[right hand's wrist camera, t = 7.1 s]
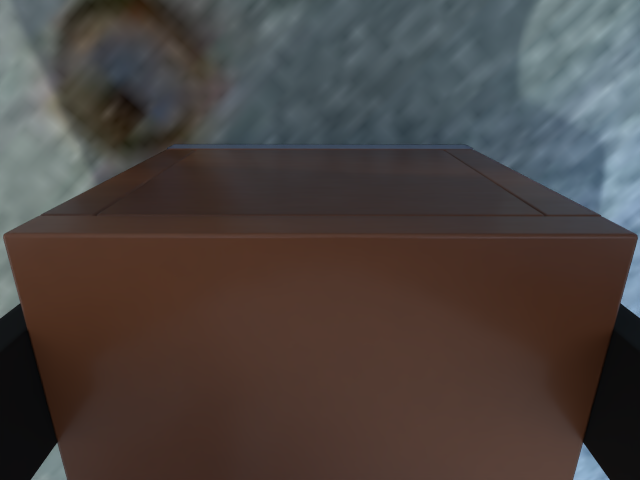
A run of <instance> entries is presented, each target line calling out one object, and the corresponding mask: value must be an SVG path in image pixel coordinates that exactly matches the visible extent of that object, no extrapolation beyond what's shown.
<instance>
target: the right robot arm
mask: <svg viewBox="0 0 640 480" xmlns="http://www.w3.org/2000/svg"><path fill="white" fill-rule="evenodd" d="M56 443H57V439H56V435H55V431H54V428H53V424H52V420H51V416H50V413H49V409H48V405H47V401H46V397H45V394H44V390H43V386H42V382H41V379H40V375H39V371H38V367H37V363H36V360H35V356H34V352H33V348H32V345H31V341H30V337H29V333H28V329H27V326H26V322H25V318H24V314H23V311H22V307H21V303H20V304H19V305H17V306H16V307H15V308H14V309H12V310H11V311H10V312H8V313H7V314H6V315H4V316H3V317H2V318H0V480H31V479H32V477H33V476H34V474H35V473H36V472H37V470H38V469H39V467H40V466H41V465H42V463H43V462H44V460H45V459H46V457H47V456H48V455H49V453H50V452H51V450H52V449H53V448H54V446H55V445H56ZM583 443H584V444H585V446H586V447H587V448H588V450H589V451H590V453H591V454H592V455H593V457H594V458H595V460H596V461H597V462H598V464H599V465H600V467H601V468H602V469H603V471H604V472H605V474H606V475H607V476H608V478H609V479H610V480H640V318H639V317H637V316H636V315H635V314H634V313H632V312H631V311H630V310H628V309H627V308H626V307H624V306H623V305H622V304H621V303H620V306H619V310H618V314H617V318H616V321H615V325H614V329H613V332H612V336H611V340H610V344H609V347H608V351H607V355H606V359H605V362H604V366H603V370H602V373H601V377H600V381H599V385H598V388H597V392H596V396H595V399H594V403H593V407H592V411H591V414H590V418H589V422H588V426H587V429H586V433H585V437H584V440H583Z"/></svg>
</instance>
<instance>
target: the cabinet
mask: <svg viewBox="0 0 640 480" xmlns="http://www.w3.org/2000/svg"><path fill="white" fill-rule="evenodd" d="M3 239H4V243H5V246H6V250H7V254H8V258H9V261H10V265H11V269H12V273H13V277H14V280H15V284H16V288H17V292H18V295H19V299H20V303H21V307H22V311H23V314H24V318H25V322H26V326H27V329H28V333H29V337H30V341H31V345H32V348H33V352H34V356H35V360H36V363H37V367H38V371H39V375H40V379H41V382H42V386H43V390H44V394H45V397H46V401H47V405H48V409H49V413H50V416H51V420H52V424H53V428H54V431H55V435H56V439H57V443H58V447H59V450H60V454H61V458H62V462H63V465H64V469H65V473H66V477H67V480H573V478H574V474H575V470H576V467H577V463H578V459H579V455H580V452H581V448H582V444H583V440H584V437H585V433H586V429H587V426H588V422H589V418H590V414H591V411H592V407H593V403H594V399H595V396H596V392H597V388H598V385H599V381H600V377H601V373H602V370H603V366H604V362H605V359H606V355H607V351H608V347H609V344H610V340H611V336H612V332H613V329H614V325H615V321H616V318H617V314H618V310H619V306H620V303H621V299H622V295H623V292H624V288H625V284H626V280H627V277H628V273H629V269H630V265H631V262H632V258H633V254H634V251H635V247H636V243H637V239H638V236H637V234H635V233H633V232H631V231H629V230H627V229H625V228H623V227H621V226H619V225H617V224H615V223H614V222H612V221H610V220H608V219H606V218H604V217H601V215H599V214H597V213H595V212H593V211H591V210H590V209H588V208H586V207H584V206H582V205H580V204H578V203H576V202H574V201H572V200H570V199H568V198H566V197H564V196H562V195H560V194H559V193H557V192H555V191H553V190H551V189H549V188H547V187H545V186H543V185H541V184H539V183H537V182H535V181H533V180H531V179H529V178H528V177H526V176H524V175H522V174H520V173H518V172H516V171H514V170H512V169H510V168H508V167H506V166H504V165H502V164H500V163H498V162H497V161H495V160H493V159H491V158H489V157H487V156H485V155H483V154H481V153H479V152H477V151H475V150H473V148H471V147H469V146H467V145H236V144H174V145H172V146H170V147H168V148H167V150H165V151H163V152H161V153H159V154H157V155H155V156H153V157H151V158H149V159H147V160H145V161H144V162H142V163H140V164H138V165H136V166H134V167H132V168H130V169H128V170H126V171H124V172H122V173H120V174H118V175H117V176H115V177H113V178H111V179H109V180H107V181H105V182H103V183H101V184H99V185H97V186H95V187H93V188H91V189H89V190H88V191H86V192H84V193H82V194H80V195H78V196H76V197H74V198H72V199H70V200H68V201H66V202H64V203H62V204H61V205H59V206H57V207H55V208H53V209H51V210H49V211H47V212H45V213H43V214H41V216H38V217H36V218H34V219H32V220H30V221H28V222H26V223H24V224H22V225H20V226H18V227H16V228H14V229H13V230H11V231H9V232H7V233H5V234H4V236H3Z"/></svg>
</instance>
